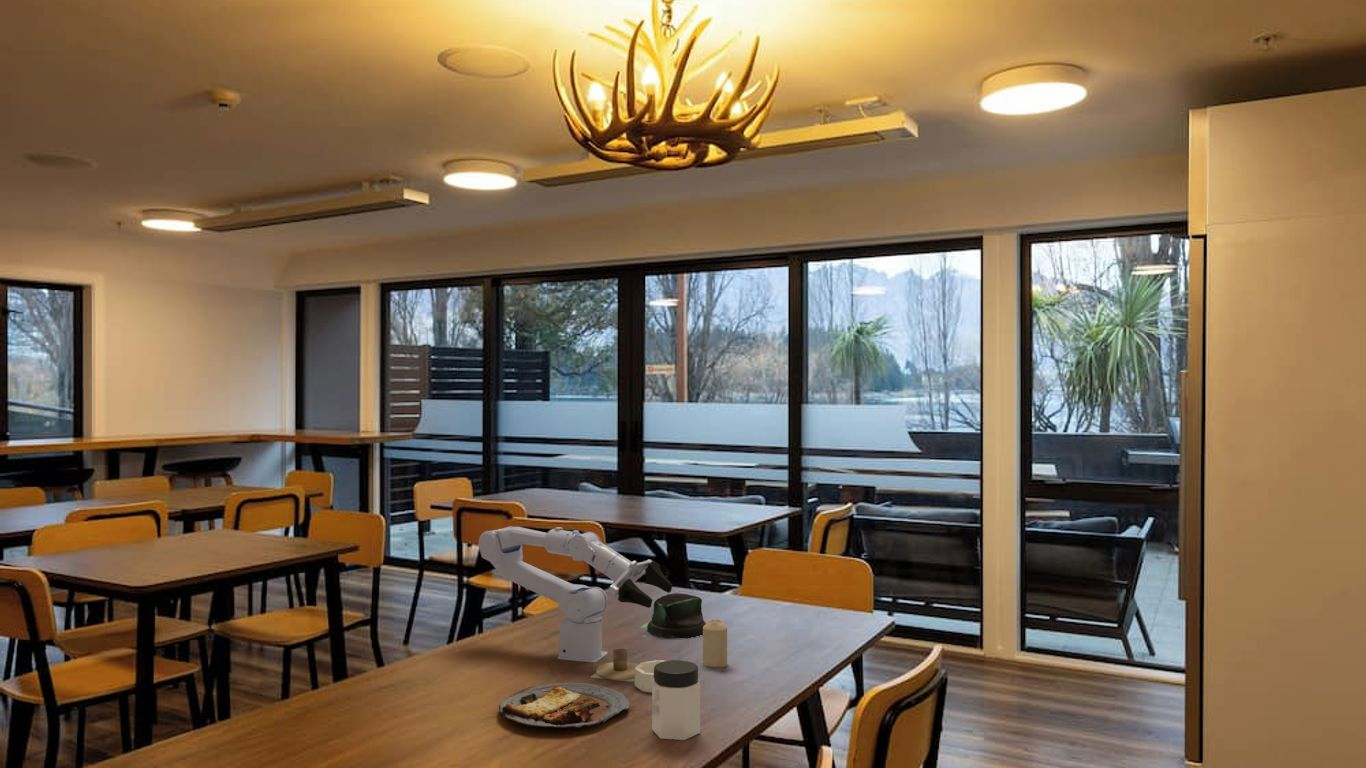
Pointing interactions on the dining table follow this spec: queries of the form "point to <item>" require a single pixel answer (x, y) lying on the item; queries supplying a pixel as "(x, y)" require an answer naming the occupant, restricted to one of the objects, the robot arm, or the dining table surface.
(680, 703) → the jar
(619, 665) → the lid
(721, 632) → the candle
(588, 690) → the food plate
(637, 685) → the bowl
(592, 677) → the mat
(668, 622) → the black rounded piece
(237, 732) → the dining table surface
